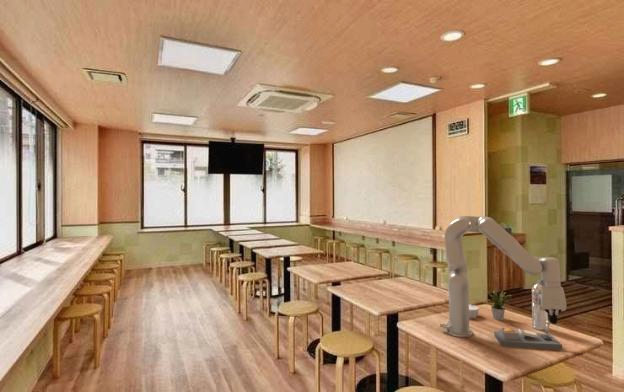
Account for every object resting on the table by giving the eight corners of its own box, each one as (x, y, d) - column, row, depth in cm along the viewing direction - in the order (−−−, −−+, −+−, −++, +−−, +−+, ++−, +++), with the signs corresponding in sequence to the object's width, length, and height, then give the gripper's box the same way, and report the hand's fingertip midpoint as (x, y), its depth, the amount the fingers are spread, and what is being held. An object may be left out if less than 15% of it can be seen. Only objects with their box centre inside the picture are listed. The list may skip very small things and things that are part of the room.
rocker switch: (520, 334, 166) (521, 331, 166) (517, 331, 170) (518, 328, 169) (537, 337, 164) (537, 335, 164) (533, 334, 168) (534, 331, 168)
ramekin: (483, 317, 202) (483, 308, 202) (468, 320, 198) (468, 310, 198) (468, 311, 212) (468, 302, 212) (453, 314, 208) (453, 305, 208)
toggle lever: (544, 336, 164) (547, 320, 164) (542, 334, 166) (545, 319, 166) (549, 337, 164) (551, 321, 164) (547, 335, 166) (549, 320, 166)
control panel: (501, 346, 164) (501, 334, 164) (494, 336, 175) (494, 325, 175) (562, 350, 158) (561, 338, 158) (550, 339, 170) (549, 327, 170)
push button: (505, 337, 167) (505, 331, 167) (502, 334, 171) (502, 327, 171) (515, 338, 166) (515, 332, 166) (512, 334, 170) (512, 328, 170)
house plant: (507, 325, 188) (506, 295, 188) (480, 319, 198) (479, 290, 198) (516, 318, 198) (515, 290, 198) (490, 313, 208) (489, 285, 208)
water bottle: (550, 331, 180) (549, 282, 179) (535, 330, 181) (534, 282, 181) (544, 326, 186) (543, 279, 186) (530, 325, 188) (529, 279, 188)
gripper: (536, 286, 162) (539, 325, 162) (572, 285, 159) (575, 326, 159) (530, 282, 170) (532, 319, 170) (564, 281, 167) (567, 320, 167)
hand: (553, 322), depth 164 cm, fingers closed
